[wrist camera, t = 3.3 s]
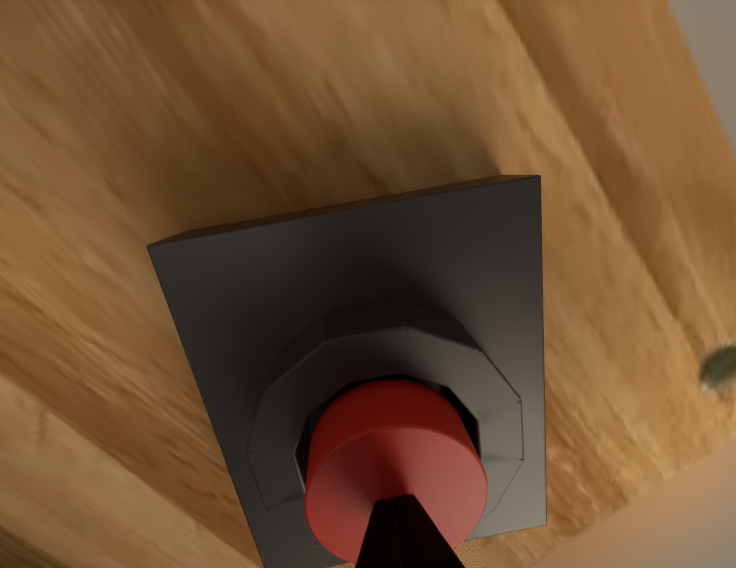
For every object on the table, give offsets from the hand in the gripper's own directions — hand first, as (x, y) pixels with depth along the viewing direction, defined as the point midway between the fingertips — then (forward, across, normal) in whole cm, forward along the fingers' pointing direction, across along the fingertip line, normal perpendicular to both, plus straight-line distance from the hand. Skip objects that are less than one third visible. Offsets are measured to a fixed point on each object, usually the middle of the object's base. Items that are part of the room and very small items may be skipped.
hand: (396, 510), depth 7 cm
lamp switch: (+6, 0, 0) cm, 6 cm away
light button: (+2, 0, 0) cm, 2 cm away
